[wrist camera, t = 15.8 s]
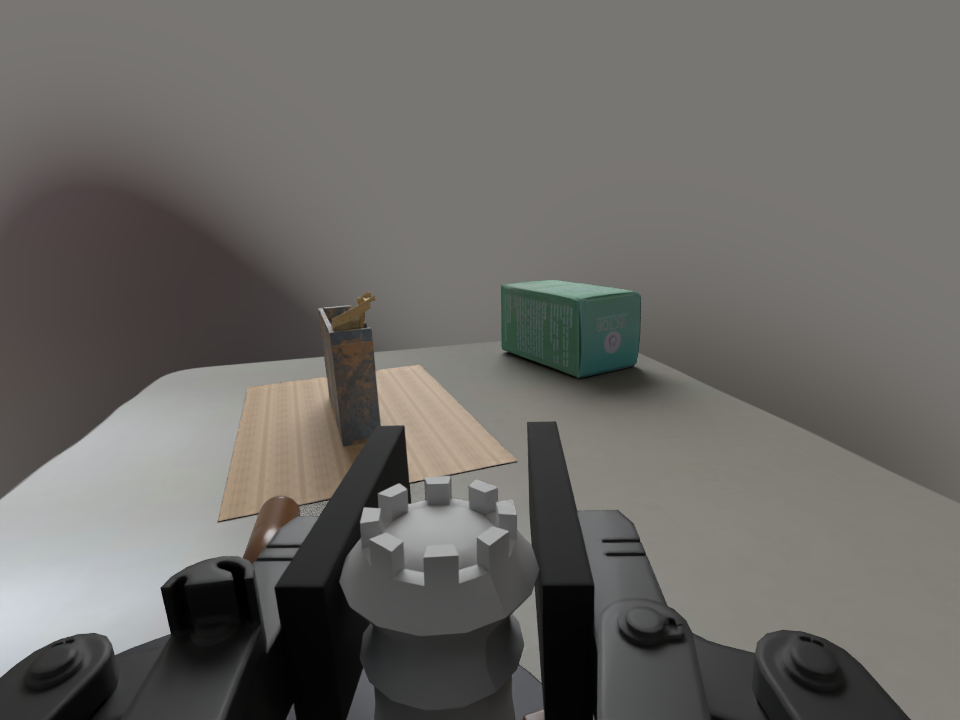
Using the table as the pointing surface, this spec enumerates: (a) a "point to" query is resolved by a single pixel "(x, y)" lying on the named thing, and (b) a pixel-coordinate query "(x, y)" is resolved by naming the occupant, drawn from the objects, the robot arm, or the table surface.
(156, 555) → the table surface
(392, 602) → the rook chess piece
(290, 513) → the pan
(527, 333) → the box
